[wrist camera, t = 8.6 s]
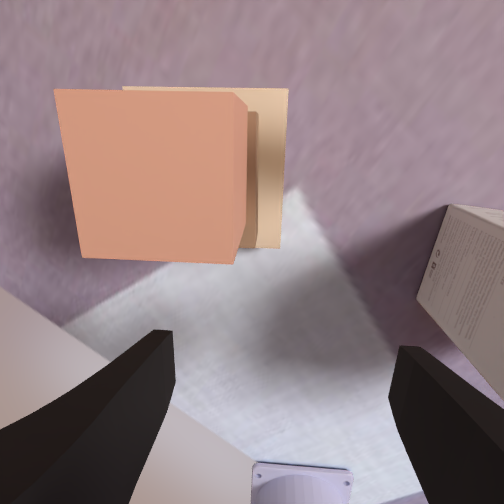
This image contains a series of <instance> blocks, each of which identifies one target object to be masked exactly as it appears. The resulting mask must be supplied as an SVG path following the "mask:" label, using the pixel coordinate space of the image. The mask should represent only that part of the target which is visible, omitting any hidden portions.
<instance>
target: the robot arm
mask: <svg viewBox="0 0 504 504" xmlns="http://www.w3.org/2000/svg"><path fill="white" fill-rule="evenodd" d="M175 382H176V379H175V363H174V347H173V331H168V330H153V331H151V332H150V333H149V334H147V335H146V336H145V337H143V338H142V339H141V340H140V341H138V342H137V343H136V344H134V345H133V346H132V347H131V348H129V349H128V350H127V351H125V352H124V353H123V354H121V355H120V356H119V357H117V358H116V359H115V360H113V361H112V362H111V363H109V364H108V365H107V366H105V367H104V368H102V369H101V370H100V371H98V372H97V373H95V374H94V375H92V376H91V377H90V378H88V379H87V380H85V381H84V382H82V383H81V384H79V385H78V386H76V387H75V388H73V389H72V390H70V391H69V392H67V393H66V394H64V395H62V396H61V397H59V398H57V399H56V400H54V401H52V402H51V403H49V404H47V405H45V406H44V407H42V408H40V409H39V410H37V411H35V412H33V413H32V414H30V415H28V416H26V417H24V418H22V419H20V420H18V421H16V422H14V423H12V424H10V425H8V426H6V427H4V428H2V429H1V430H0V504H129V501H130V499H131V496H132V494H133V491H134V488H135V486H136V483H137V481H138V479H139V476H140V474H141V472H142V469H143V467H144V465H145V462H146V460H147V458H148V455H149V453H150V451H151V448H152V446H153V444H154V441H155V439H156V437H157V434H158V432H159V430H160V427H161V425H162V422H163V420H164V418H165V415H166V413H167V410H168V406H169V403H170V400H171V396H172V393H173V389H174V386H175ZM388 398H389V402H390V406H391V410H392V413H393V417H394V420H395V423H396V427H397V430H398V432H399V435H400V437H401V440H402V442H403V445H404V447H405V449H406V452H407V454H408V456H409V459H410V461H411V463H412V466H413V468H414V470H415V473H416V475H417V477H418V480H419V482H420V484H421V487H422V489H423V491H424V494H425V496H426V498H427V501H428V503H429V504H504V409H503V408H501V407H500V406H499V405H497V404H496V403H495V402H493V401H492V400H490V399H489V398H488V397H486V396H485V395H484V394H482V393H481V392H479V391H478V390H477V389H475V388H474V387H473V386H472V385H470V384H469V383H468V382H466V381H465V380H464V379H462V378H461V377H460V376H458V375H457V374H456V373H454V372H453V371H452V370H451V369H449V368H448V367H447V366H445V365H444V364H443V363H441V362H440V361H439V360H437V359H436V358H435V357H434V356H432V355H431V354H429V353H428V352H427V351H425V350H424V349H422V348H421V347H414V346H400V347H399V351H398V356H397V360H396V364H395V369H394V373H393V378H392V382H391V387H390V391H389V396H388ZM353 480H354V478H353V474H352V472H350V471H348V470H337V469H326V468H314V467H302V466H290V465H278V464H267V463H256V464H254V465H253V469H252V490H251V504H349V500H350V495H351V490H352V485H353Z"/></svg>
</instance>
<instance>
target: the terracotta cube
mask: <svg viewBox="0 0 504 504" xmlns="http://www.w3.org/2000/svg"><path fill="white" fill-rule="evenodd" d="M54 94H55V100H56V106H57V112H58V118H59V124H60V130H61V136H62V142H63V148H64V154H65V160H66V166H67V171H68V177H69V183H70V189H71V195H72V201H73V207H74V213H75V219H76V225H77V231H78V237H79V242H80V248H81V254H82V258H102V259H125V260H147V261H169V262H191V263H213V264H233V263H234V260H235V257H236V253H237V250H238V247H239V244H240V241H241V238H242V235H243V231H244V228H245V225H246V190H247V127H248V106H247V105H246V104H245V103H244V102H243V101H242V100H241V99H240V98H239V97H238V96H237V95H236V94H235V93H234V92H205V91H144V90H83V89H54Z"/></svg>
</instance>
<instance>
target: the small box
mask: <svg viewBox="0 0 504 504" xmlns="http://www.w3.org/2000/svg"><path fill="white" fill-rule="evenodd" d="M416 299H417V301H418V302H419V303H420V304H421V306H422V307H423V308H424V309H425V310H426V312H427V313H428V314H429V315H430V316H431V317H432V318H433V319H434V321H435V322H436V323H437V324H438V325H439V326H440V328H441V329H442V330H443V331H444V332H445V333H446V335H447V336H448V337H449V338H450V339H451V340H452V342H453V343H454V344H455V345H456V346H457V347H458V349H459V350H460V351H461V352H462V353H463V354H464V355H465V357H466V358H467V359H468V360H469V361H470V362H471V364H472V365H473V366H474V367H475V368H476V369H477V370H478V372H479V373H480V374H481V375H482V376H483V377H484V379H485V380H486V381H487V382H488V383H489V385H490V386H491V387H492V388H493V389H494V390H495V392H496V393H497V394H498V395H499V396H500V397H501V398H502V400H503V401H504V211H503V210H496V209H489V208H482V207H474V206H467V205H458V204H450V205H449V206H448V208H447V211H446V214H445V217H444V219H443V222H442V225H441V228H440V231H439V234H438V237H437V240H436V242H435V245H434V248H433V251H432V254H431V257H430V260H429V263H428V266H427V268H426V271H425V274H424V277H423V280H422V283H421V286H420V289H419V292H418V294H417V298H416Z"/></svg>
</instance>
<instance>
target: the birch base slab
mask: <svg viewBox="0 0 504 504" xmlns="http://www.w3.org/2000/svg"><path fill="white" fill-rule="evenodd" d="M123 90H144V91H205V92H234V93H235V94H236V95H237V96H238V97H239V98H240V99H241V100H242V101H243V102H244V103H245V104H246V105H247V106H248V111H256V112H257V113H258V114H259V144H258V235H257V241H256V246H255V248H276V249H280V240H281V221H282V202H283V182H284V163H285V144H286V125H287V106H288V89H275V88H201V87H127V86H123Z"/></svg>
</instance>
